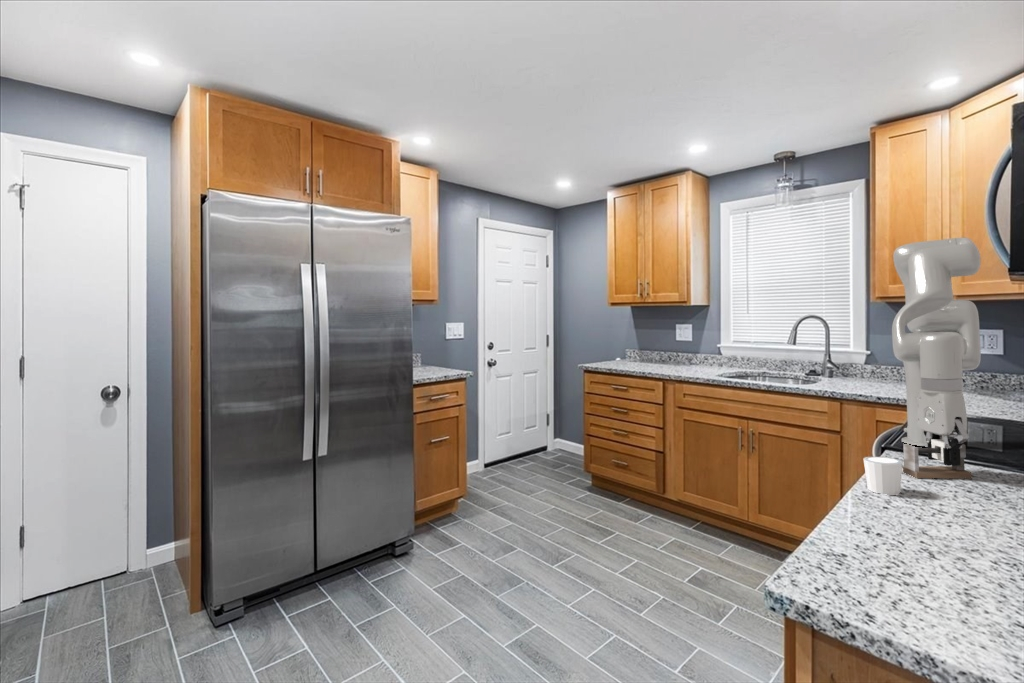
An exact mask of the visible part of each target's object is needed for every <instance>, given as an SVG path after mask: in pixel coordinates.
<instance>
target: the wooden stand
mask: <svg viewBox="0 0 1024 683" xmlns="http://www.w3.org/2000/svg"><path fill="white" fill-rule="evenodd" d="M902 444H903V445H902V446H903V466H902V473H903V472H904V473H903V474H905V473H906V474H905V475H907V474H909V475H911V476H910V477H912V476H913V477H912V478H914V477H915V478H914V479H916V478H928V479H929V480H931V479H932V478H933V480H934V478H943V479H945V478H946V480H947V479H949V478H953V479H957V478H958V479H960V480H961V479H964V478H965V479H967V480H968V479H971V480H972V472H971V471H969V470H967V469H966V468H965V458H966V457H967V455H966V452H967V451H966V444H965V443H964V444H963V445H962V448H961V449H960V462H961V464H960V465H955V466H947V465H944V466H942V465H941V466H939V465H938V466H936V465H935V466H934V465H933V466H920V465H919V463H920V462H919V460H920V459H919V454H928V453H941V448H922V447H915V446H912V445H909V444H904V443H902ZM909 475H908V476H909ZM928 479H927V480H928ZM958 479H957V480H958ZM949 480H950V479H949Z"/></svg>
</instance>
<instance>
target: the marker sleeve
mask: <svg viewBox="0 0 1024 683" xmlns="http://www.w3.org/2000/svg"><path fill="white" fill-rule="evenodd" d="M931 447H932V448H941V453H932V458H935V459H938V460H937V461H941V462H944V458H943V448H946V447H945V442H944V440H943V439H931Z"/></svg>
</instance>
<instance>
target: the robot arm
mask: <svg viewBox="0 0 1024 683" xmlns="http://www.w3.org/2000/svg"><path fill="white" fill-rule="evenodd" d="M978 248H979V247H978V246H977V245H976V244H975V242H973V240H971V238H969V237H953V238H946V239H945V238H944V239H934V240H925V241H924V240H923V241H918V242H909V243H906V244H903V245H900V246H898V247H896V249H894V251H893V254H892V255H893V256H892V257H893V259H892V260H893V265H894V268H895V271H896V273H897V275H898V276H899V277H898V278H900V281H901V282H902V285H903V287H904V296H905V297H904V298H905V302H904V303H905V304H904V305H903V306H902V307H901V308H900V309H899V310H898V312H897V313H896V315H895V316H894V319H893V322H892V324H891V325H892V326H891V338H892V340H891V341H892V350H893V355H894V357H895V358H896V359H897V360H898V361H900V362H902V364H903V368H904V376H905V385H906V386H905V390H906V416H907V419H906V420H907V426H906V427H904V428H903V432H905V433H906V435H907V436H905V437H902V438H901V443H902V442H904V443H907V444H911V445H917V446H925V447H928V448H932V447H931V439H943V440H944V442H945V447H946V448H943V458H944V461H943V465H944V466H955V465H960V464H961V462H960V449H961V448H962V445H963V444H964V445H965V442H968V440H969V439H970V436H969V434H968V416H967V407H966V401H965V398H964V392H963V391H964V388H963V387H964V386H963V384H964V383H963V381H964V380H963V371H973V370H975V369H977V368H978V367H980V364H981V357H982V356H981V352H982V350H981V335H980V334H981V333H980V332H981V331H980V319H979V318H980V316H979V310H978V308H977V306H976V304H975V303H974V302H973V301H971V300H968V299H954V291H953V286H952V278H955V277H956V278H958V277H968V276H969V277H970V276H973V275H975V274H977V273H978V272H979V270H980V269H981V262H982V259H981V253H980V250H979V249H978ZM906 326H907V329H908V330H909V331H910V332H906ZM951 438H952V440H951ZM904 443H903V444H904ZM927 459H929V460H930V461H933V460H934V461H939V460H938V459H935V458H932V453H927Z"/></svg>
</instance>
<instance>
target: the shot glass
mask: <svg viewBox="0 0 1024 683" xmlns="http://www.w3.org/2000/svg"><path fill="white" fill-rule="evenodd" d="M863 465H864V472H865V479H866V486H867V490H868V489H869V490H871V491H873V492H876V493H881V494H887V495H896V494H899V493H900V494H901V485H902V475H903V474H902V473H903V461H902V460H900V459H897V458H892V457H886V456H864V457H863ZM900 494H899V495H900ZM887 495H886V496H887ZM896 496H897V495H896Z"/></svg>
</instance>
